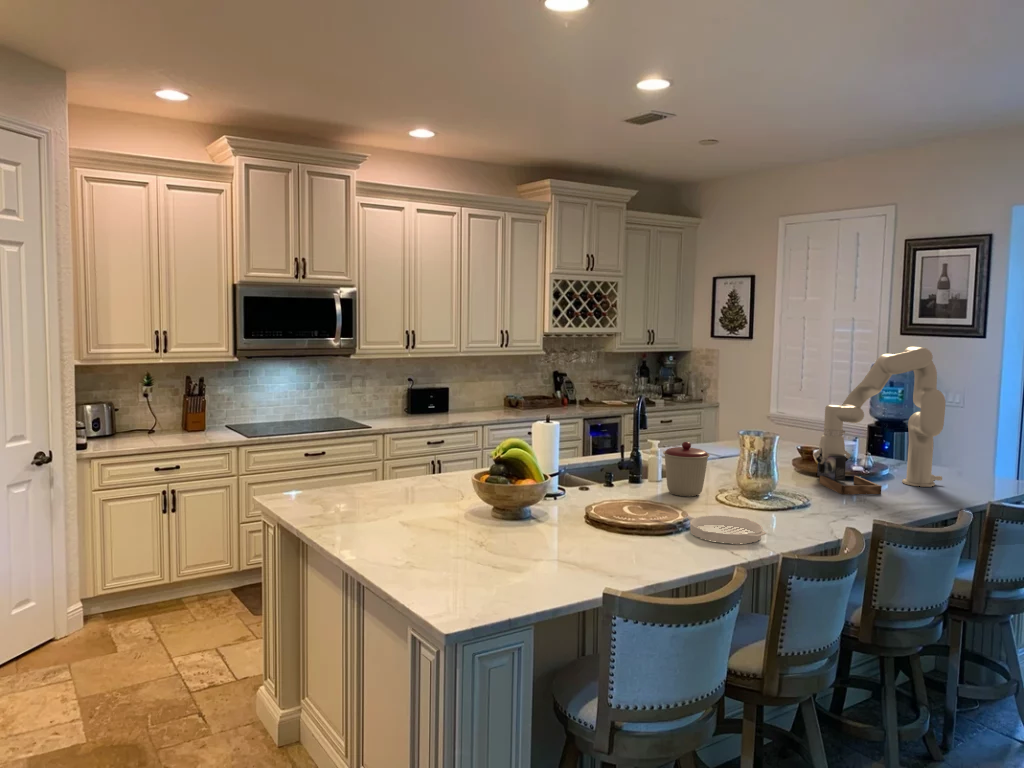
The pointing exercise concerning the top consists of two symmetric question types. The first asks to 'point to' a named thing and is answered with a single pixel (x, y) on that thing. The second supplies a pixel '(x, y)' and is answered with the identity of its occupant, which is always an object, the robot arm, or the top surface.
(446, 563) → the top surface
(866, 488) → the wooden u-shaped frame
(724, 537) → the pan
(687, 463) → the canister
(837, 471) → the small box
